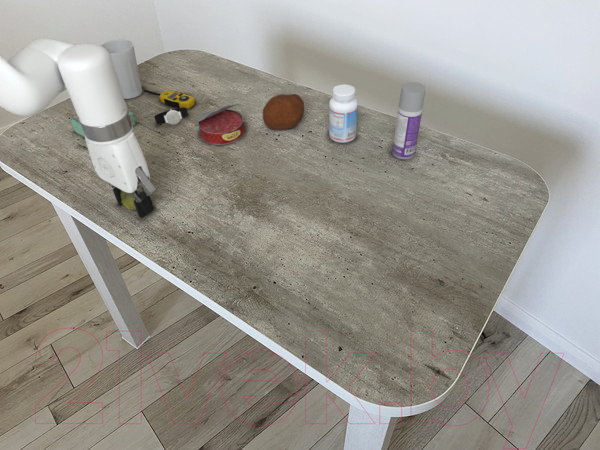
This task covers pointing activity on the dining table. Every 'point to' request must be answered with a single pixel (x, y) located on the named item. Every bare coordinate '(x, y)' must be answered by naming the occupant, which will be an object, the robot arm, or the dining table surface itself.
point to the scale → (80, 131)
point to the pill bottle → (343, 114)
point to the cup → (125, 66)
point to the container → (408, 120)
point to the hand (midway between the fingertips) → (136, 206)
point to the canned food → (221, 126)
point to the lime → (128, 200)
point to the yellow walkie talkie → (175, 99)
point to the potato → (283, 111)
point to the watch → (171, 116)
